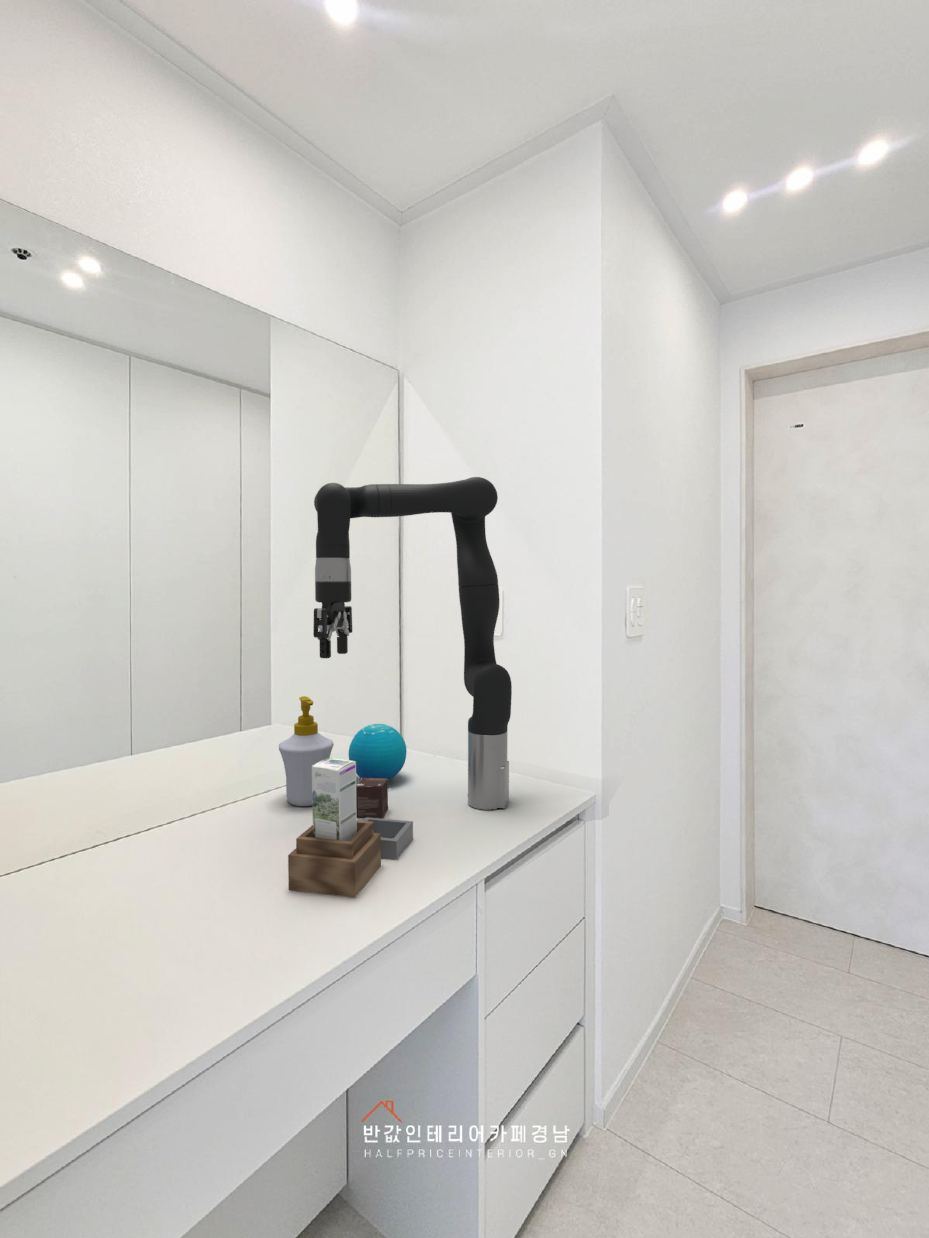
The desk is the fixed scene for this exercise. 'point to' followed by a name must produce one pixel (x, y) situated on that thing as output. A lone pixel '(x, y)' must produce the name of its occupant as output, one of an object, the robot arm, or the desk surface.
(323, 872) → the walnut raised dock
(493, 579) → the robot arm
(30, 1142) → the desk surface
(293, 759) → the soap bottle
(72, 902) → the desk surface
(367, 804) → the box
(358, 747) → the decorative orb
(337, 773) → the syrup box
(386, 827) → the charcoal collar
